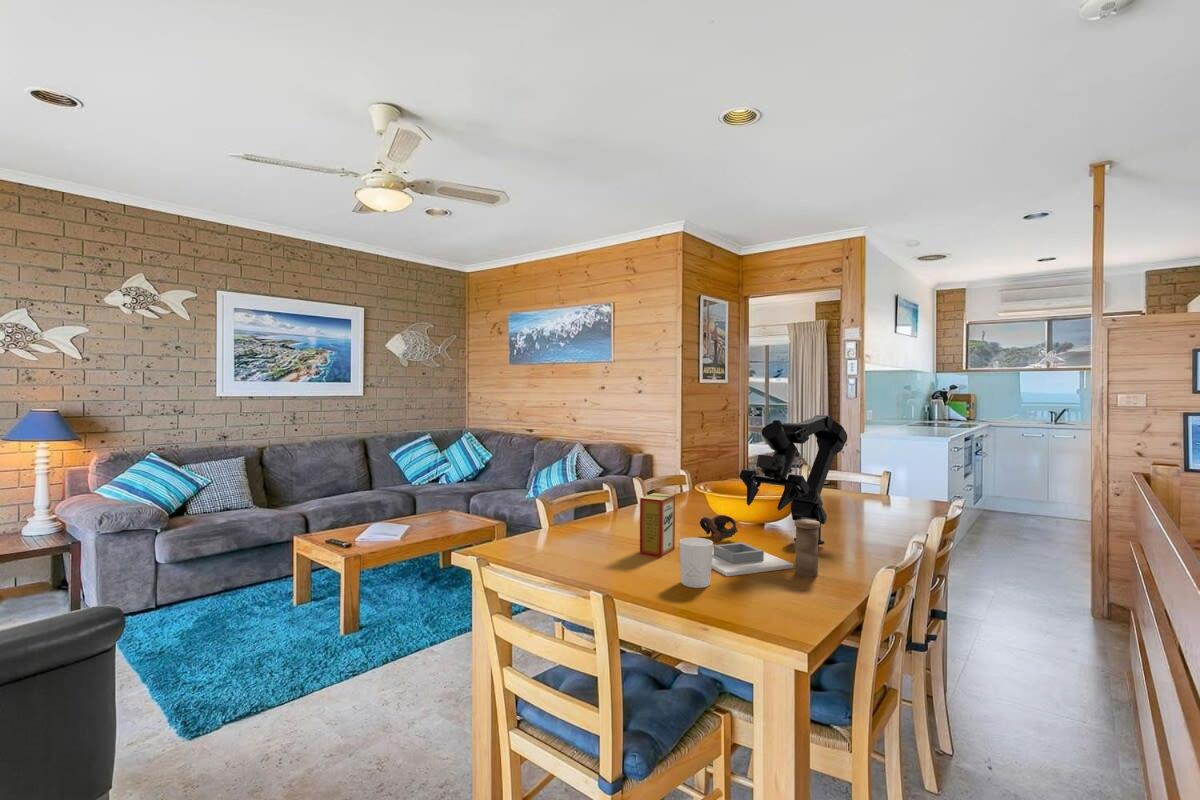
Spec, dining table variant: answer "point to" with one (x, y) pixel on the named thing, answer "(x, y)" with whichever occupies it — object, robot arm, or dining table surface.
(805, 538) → the brown cylinder
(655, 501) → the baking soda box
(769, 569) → the square socket base
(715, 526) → the pottery mug
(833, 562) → the dining table surface
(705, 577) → the white cup
